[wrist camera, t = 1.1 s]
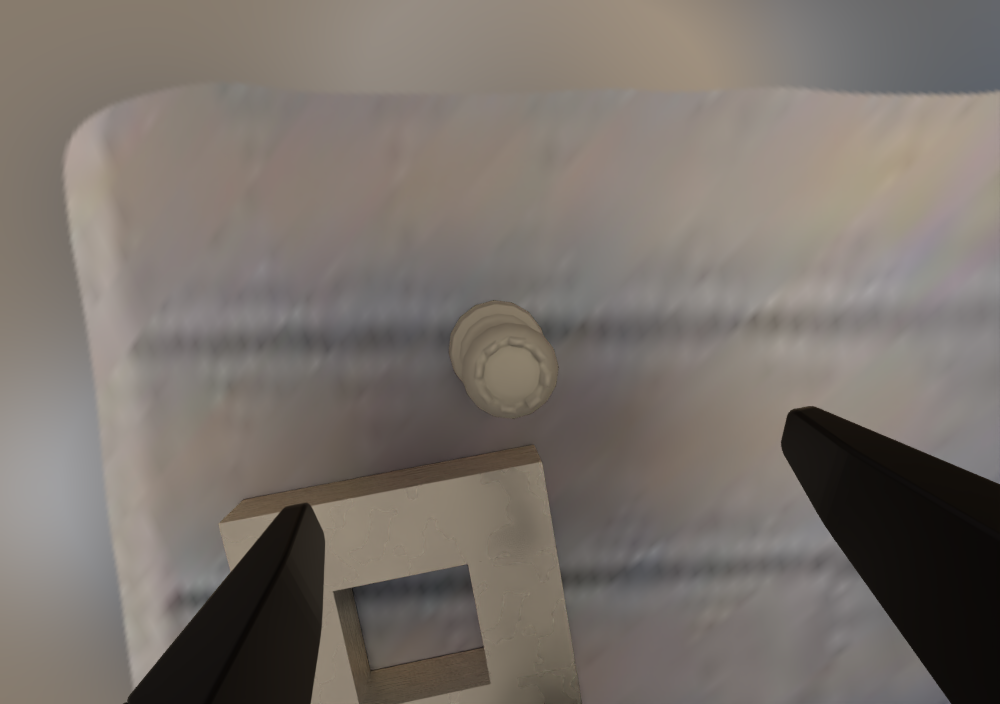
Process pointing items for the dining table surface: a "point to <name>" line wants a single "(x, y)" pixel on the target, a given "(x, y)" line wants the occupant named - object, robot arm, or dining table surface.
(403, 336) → the dining table surface
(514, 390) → the rook chess piece
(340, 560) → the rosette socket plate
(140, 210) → the dining table surface
